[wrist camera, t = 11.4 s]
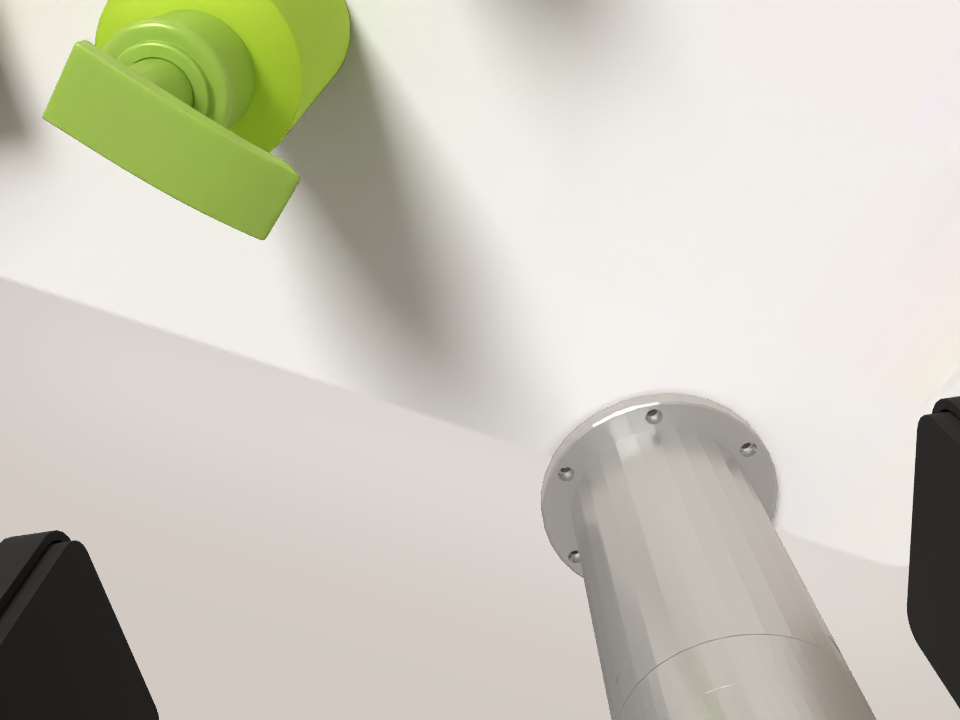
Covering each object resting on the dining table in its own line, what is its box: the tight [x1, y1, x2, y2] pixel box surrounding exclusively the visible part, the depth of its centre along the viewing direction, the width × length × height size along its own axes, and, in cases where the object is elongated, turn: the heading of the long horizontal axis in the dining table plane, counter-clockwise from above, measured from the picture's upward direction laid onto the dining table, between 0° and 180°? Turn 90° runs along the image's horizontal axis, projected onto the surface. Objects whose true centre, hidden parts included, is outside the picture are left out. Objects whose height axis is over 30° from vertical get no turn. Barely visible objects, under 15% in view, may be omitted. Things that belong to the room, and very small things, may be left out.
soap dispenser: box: [42, 0, 350, 240], centre depth 28 cm, size 6×7×20 cm
